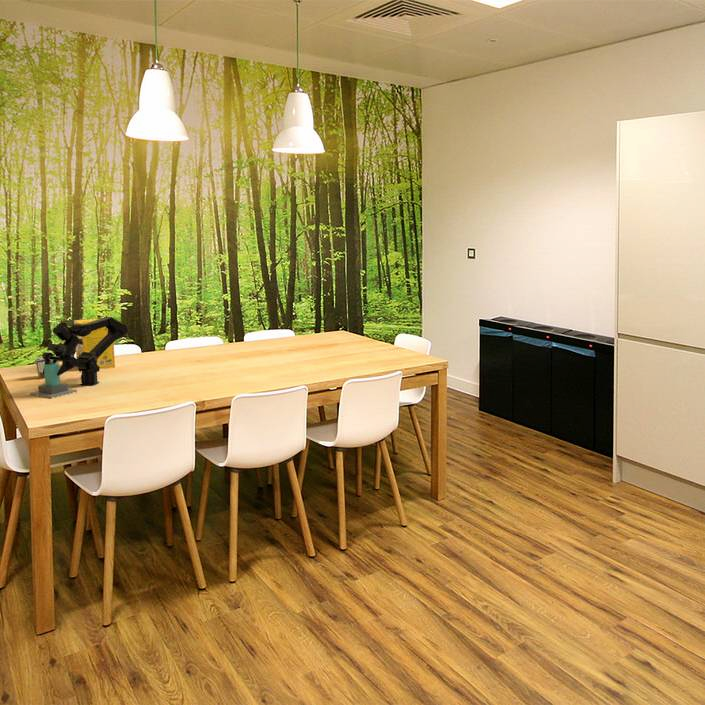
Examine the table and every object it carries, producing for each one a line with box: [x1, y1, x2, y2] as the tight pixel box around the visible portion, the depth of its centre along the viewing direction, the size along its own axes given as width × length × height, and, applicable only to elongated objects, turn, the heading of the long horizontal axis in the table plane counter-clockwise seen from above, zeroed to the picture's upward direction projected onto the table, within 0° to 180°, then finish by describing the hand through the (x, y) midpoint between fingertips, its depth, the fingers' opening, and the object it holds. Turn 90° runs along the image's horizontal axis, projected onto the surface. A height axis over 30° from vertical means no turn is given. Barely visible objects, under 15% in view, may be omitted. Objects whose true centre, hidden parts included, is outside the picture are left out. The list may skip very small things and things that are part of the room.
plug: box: [44, 361, 61, 387], centre depth 313 cm, size 4×4×14 cm
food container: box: [34, 356, 60, 380], centre depth 348 cm, size 12×6×10 cm, turn 141°
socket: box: [29, 382, 78, 399], centre depth 314 cm, size 14×14×4 cm
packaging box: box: [73, 318, 116, 369], centre depth 372 cm, size 16×16×25 cm
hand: (50, 374), depth 312 cm, fingers open, 9 cm apart
